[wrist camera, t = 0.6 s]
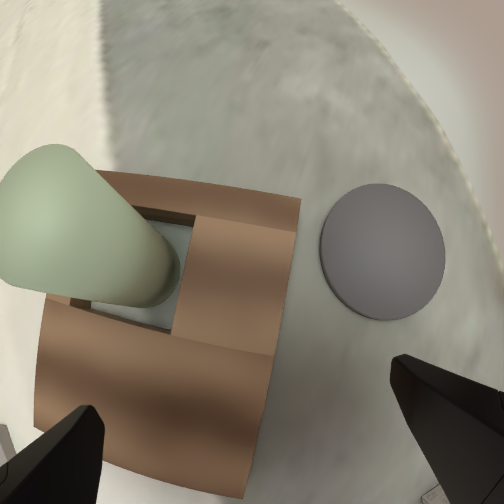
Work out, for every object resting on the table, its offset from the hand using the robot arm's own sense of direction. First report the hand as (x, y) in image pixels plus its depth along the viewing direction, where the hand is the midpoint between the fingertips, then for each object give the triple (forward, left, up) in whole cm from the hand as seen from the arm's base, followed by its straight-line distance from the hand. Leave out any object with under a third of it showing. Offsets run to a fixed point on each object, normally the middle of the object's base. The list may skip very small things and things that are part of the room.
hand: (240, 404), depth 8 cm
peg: (+4, +9, -13) cm, 16 cm away
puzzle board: (0, +7, -13) cm, 14 cm away
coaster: (+9, -8, -13) cm, 18 cm away
